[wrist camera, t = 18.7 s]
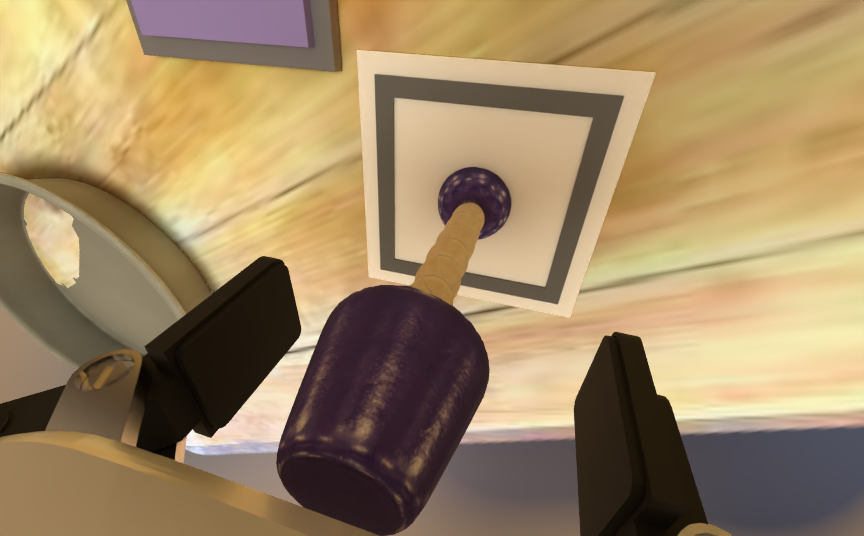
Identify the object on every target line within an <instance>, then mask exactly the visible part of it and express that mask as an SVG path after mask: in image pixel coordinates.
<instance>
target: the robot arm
mask: <svg viewBox="0 0 864 536" xmlns="http://www.w3.org/2000/svg"><path fill="white" fill-rule="evenodd" d="M300 333H301V324H300V320H299V315H298V311H297V306H296V302H295V297H294V293H293V288H292V284H291V280H290V275H289V271H288V268H287V266H285V265H284V262H283V261H282V260H280V259H275V258H271V257H266V256H262V257H260V258H258V259H257V260H256V261H254V262H253V263H252V264H250V265H249V266H248V267H246V268H245V269H244V270H243V271H241V272H240V273H239V274H237V275H236V276H235V277H234V278H232V279H231V280H230V281H228V282H227V283H226V284H224V285H223V286H222V287H221V288H219V289H218V290H217V291H215V292H214V293H213V294H212V295H210V296H209V297H208V298H206V299H205V300H204V301H202V302H201V303H200V304H199V305H197V306H196V307H195V308H193V309H192V310H191V311H189V312H188V313H187V314H186V315H184V316H183V317H182V318H180V319H179V320H178V321H177V322H175V323H174V324H173V325H171V326H170V327H169V328H167V329H166V330H165V331H164V332H162V333H161V334H160V335H158V336H157V337H156V338H155V339H153V340H152V341H151V342H149V343H148V344H147V345H145V346H144V347H145V349H146V351H147V352H148V353H147V354H146V355H145V356H143V357H142V356H141V355H140V354H139V352H136V351H134V350H128V349H122V350H115V351H111V352H108V353H104V354H101V355H99V356H97V357H95V358H93V359H91V360H89V361H88V362H86V363H85V364H83V365H82V366H80V367H79V368H78V369H77V370H76V371H75V372H74V373H73V374H72V375H71V377H70V378H69V380H68V381H67V384H66V385H63V386H60V387H57V388H53V389H50V390H47V391H43V392H40V393H36V394H33V395H29V396H26V397H22V398H19V399H15V400H12V401H9V402H5V403H2V404H0V536H379V535H376V534H374V533H371V532H368V531H366V530H363V529H360V528H357V527H355V526H352V525H349V524H347V523H344V522H341V521H339V520H336V519H333V518H330V517H328V516H325V515H322V514H320V513H317V512H314V511H312V510H309V509H306V508H303V507H301V506H298V505H295V504H293V503H290V502H287V501H284V500H282V499H279V498H276V497H274V496H271V495H268V494H265V493H263V492H260V491H257V490H255V489H252V488H249V487H246V486H244V485H241V484H238V483H235V482H233V481H230V480H227V479H225V478H222V477H219V476H216V475H213V474H211V473H208V472H205V471H203V470H200V469H197V468H194V467H191V466H189V465H186V464H183V463H184V454H185V446H186V437H187V435H188V434H189V433H190V431H191V430H192V429H193V430H194V431H195V432H196V433H199V434H201V435H204V436H207V437H210V438H211V437H212V436H213V435H214V434H215V433H216V431H217V430H218V429H219V428H222V427H224V426H226V425H227V424H228V423H229V421H230V420H231V419H232V418H233V416H234V415H235V414H236V413H237V412H238V410H239V409H240V408H241V407H242V406H243V404H244V403H245V402H246V401H247V400H248V398H249V397H250V396H251V395H252V394H253V392H254V391H255V390H256V389H257V388H258V386H259V385H260V384H261V383H262V381H263V380H264V379H265V378H266V377H267V375H268V374H269V373H270V372H271V371H272V369H273V368H274V367H275V366H276V365H277V363H278V362H279V361H280V360H281V359H282V357H283V356H284V355H285V354H286V353H287V351H288V350H289V349H290V348H291V347H292V345H293V344H294V343H295V342H296V340H297V339H298V338H299V336H300ZM574 422H575V440H576V459H577V477H578V496H579V515H580V534H581V536H732V535H730V534H729V533H727V532H725V531H723V530H721V529H719V528H717V527H715V526H713V525H708V522H707V519H706V516H705V512H704V509H703V506H702V503H701V500H700V497H699V493H698V490H697V487H696V484H695V480H694V477H693V474H692V471H691V468H690V464H689V461H688V458H687V455H686V452H685V448H684V445H683V442H682V439H681V436H680V432H679V429H678V426H677V423H676V420H675V416H674V413H673V410H672V407H671V405H670V402H669V400H668V399H667V398H666V397H664V396H661V395H657V393H656V390H655V386H654V383H653V379H652V376H651V372H650V369H649V365H648V361H647V358H646V354H645V351H644V347H643V344H642V341H641V338H640V337H637V336H633V335H628V334H624V333H619V332H614V333H613V334H612V336H604V338H603V340H602V342H601V344H600V346H599V348H598V351H597V353H596V355H595V357H594V359H593V362H592V364H591V366H590V368H589V370H588V373H587V375H586V377H585V379H584V382H583V384H582V386H581V388H580V390H579V393H578V395H577V397H576V400H575V405H574Z"/></svg>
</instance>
